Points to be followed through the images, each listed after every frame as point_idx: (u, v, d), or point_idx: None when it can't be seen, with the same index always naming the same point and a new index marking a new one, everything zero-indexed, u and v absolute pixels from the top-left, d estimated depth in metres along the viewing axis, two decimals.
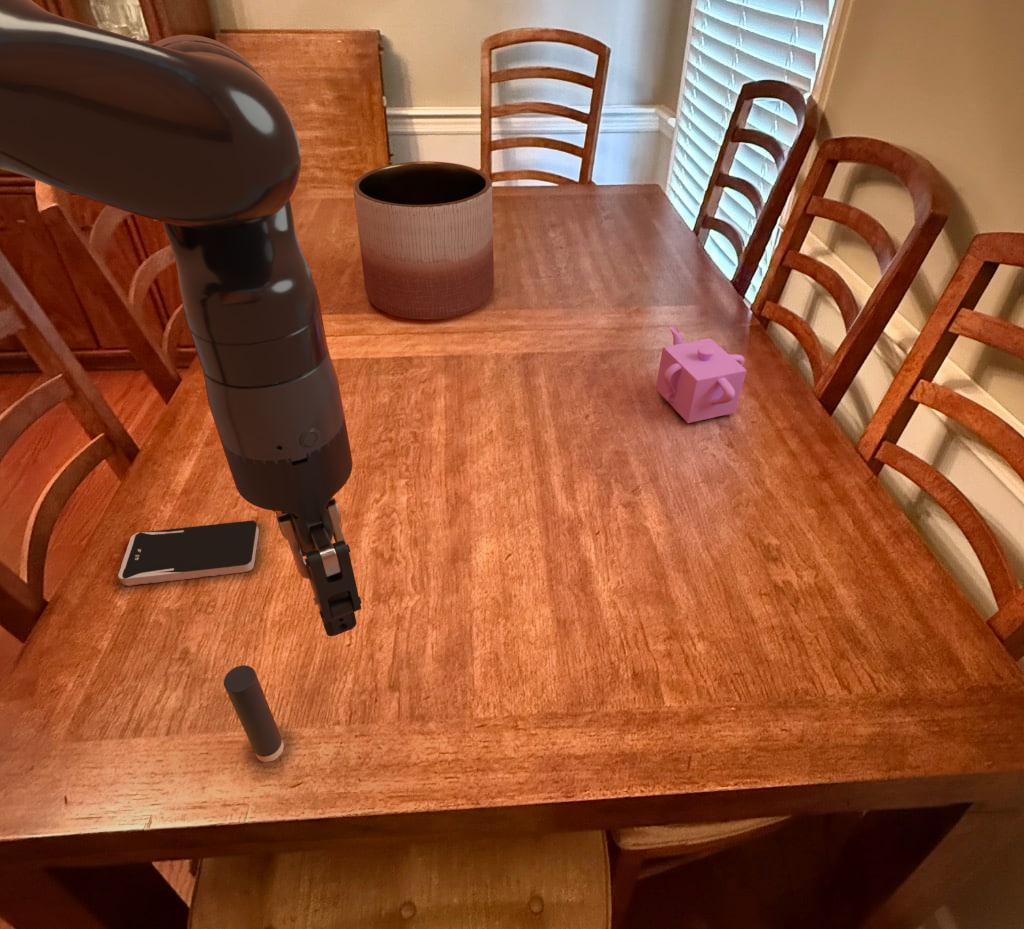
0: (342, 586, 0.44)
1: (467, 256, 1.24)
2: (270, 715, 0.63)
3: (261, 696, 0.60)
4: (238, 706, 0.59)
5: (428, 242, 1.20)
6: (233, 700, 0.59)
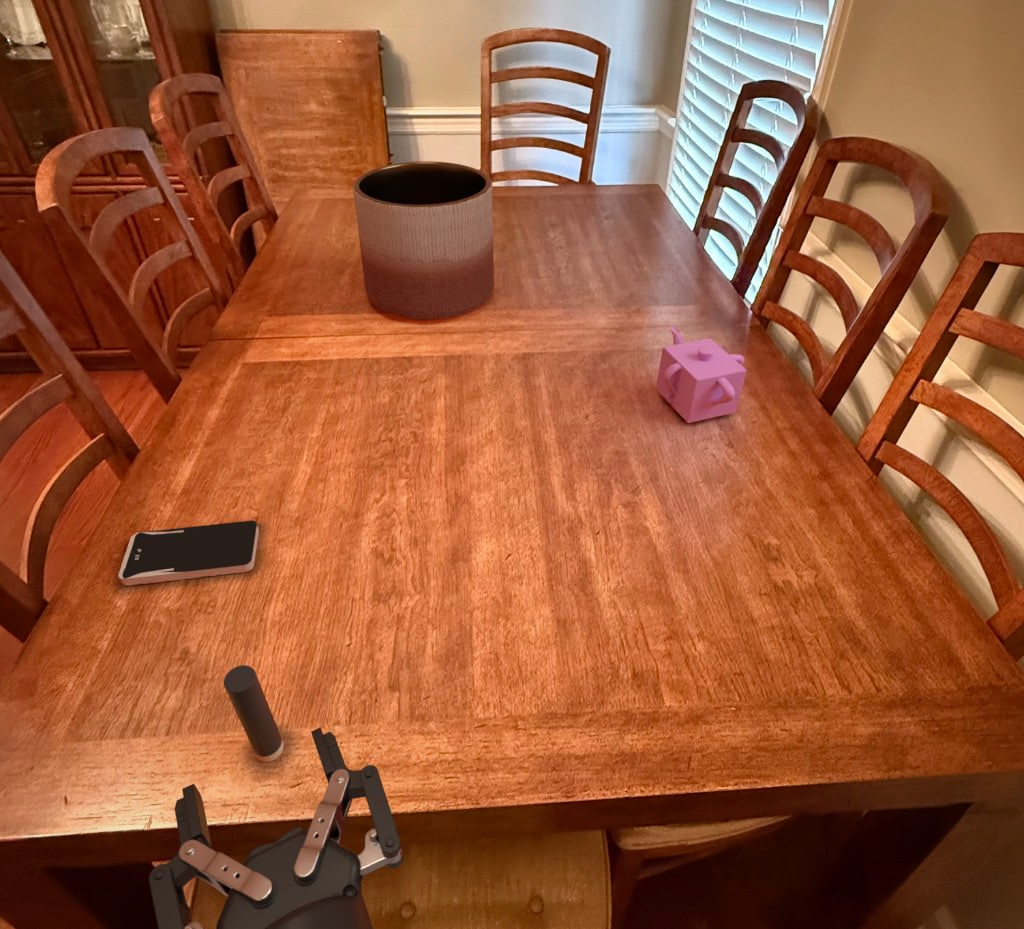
0: None
1: (467, 256, 1.24)
2: (270, 715, 0.63)
3: (261, 696, 0.60)
4: (238, 706, 0.59)
5: (428, 242, 1.20)
6: (233, 700, 0.59)
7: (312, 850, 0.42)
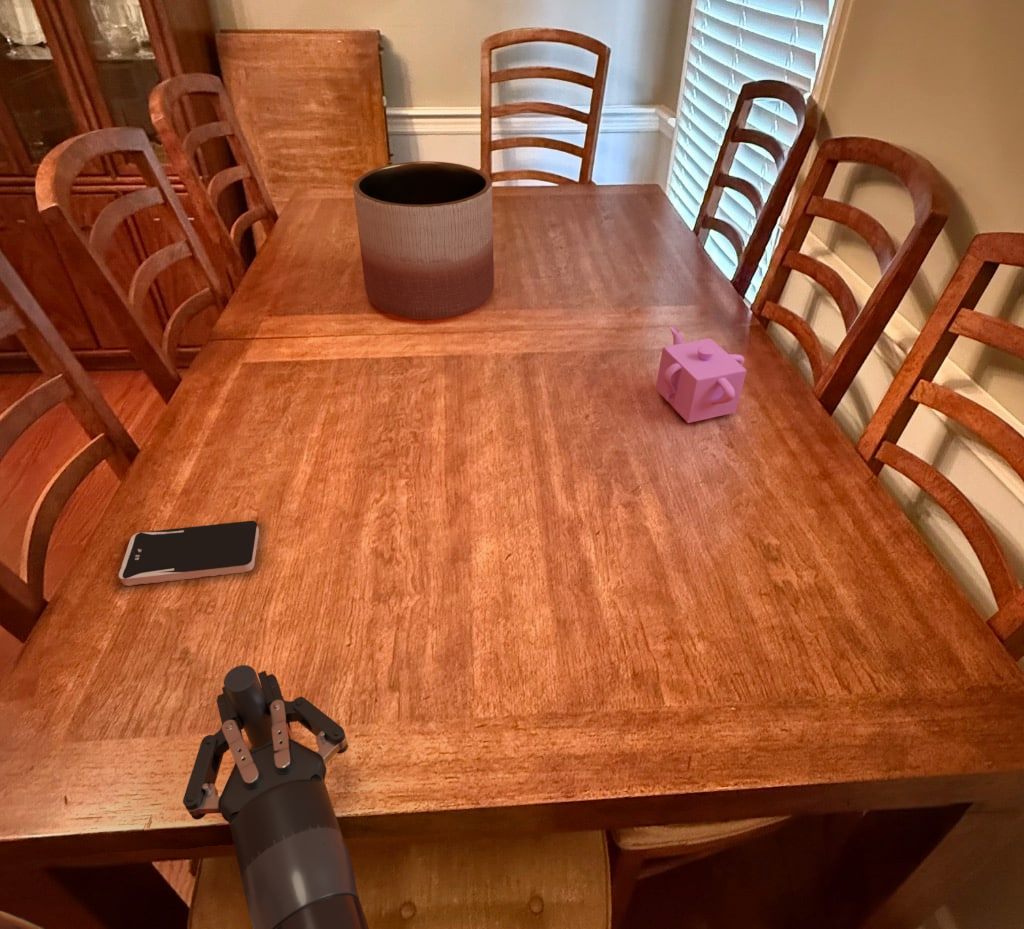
0: None
1: (467, 256, 1.24)
2: (270, 715, 0.63)
3: (261, 696, 0.60)
4: (238, 706, 0.59)
5: (428, 242, 1.20)
6: (233, 700, 0.59)
7: (288, 750, 0.57)
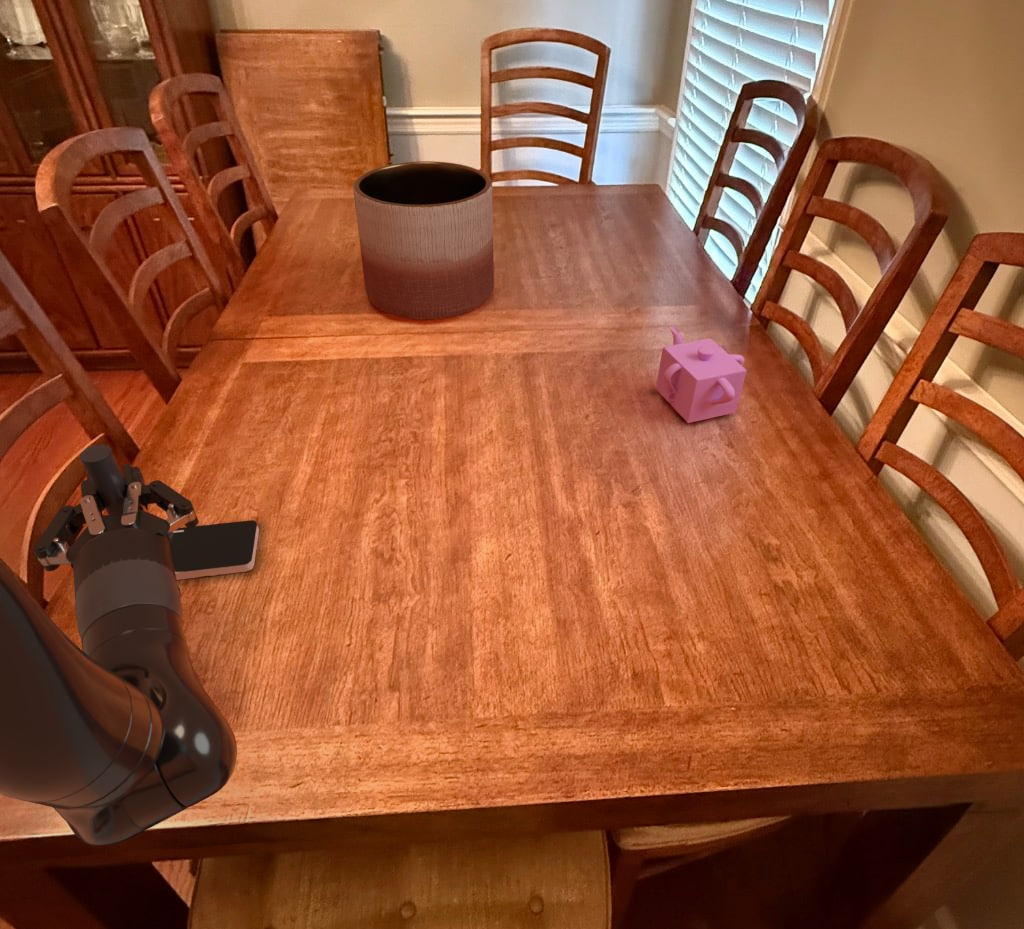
0: None
1: (467, 256, 1.24)
2: None
3: (118, 474, 0.66)
4: (95, 481, 0.65)
5: (428, 242, 1.20)
6: (89, 473, 0.64)
7: (135, 513, 0.63)
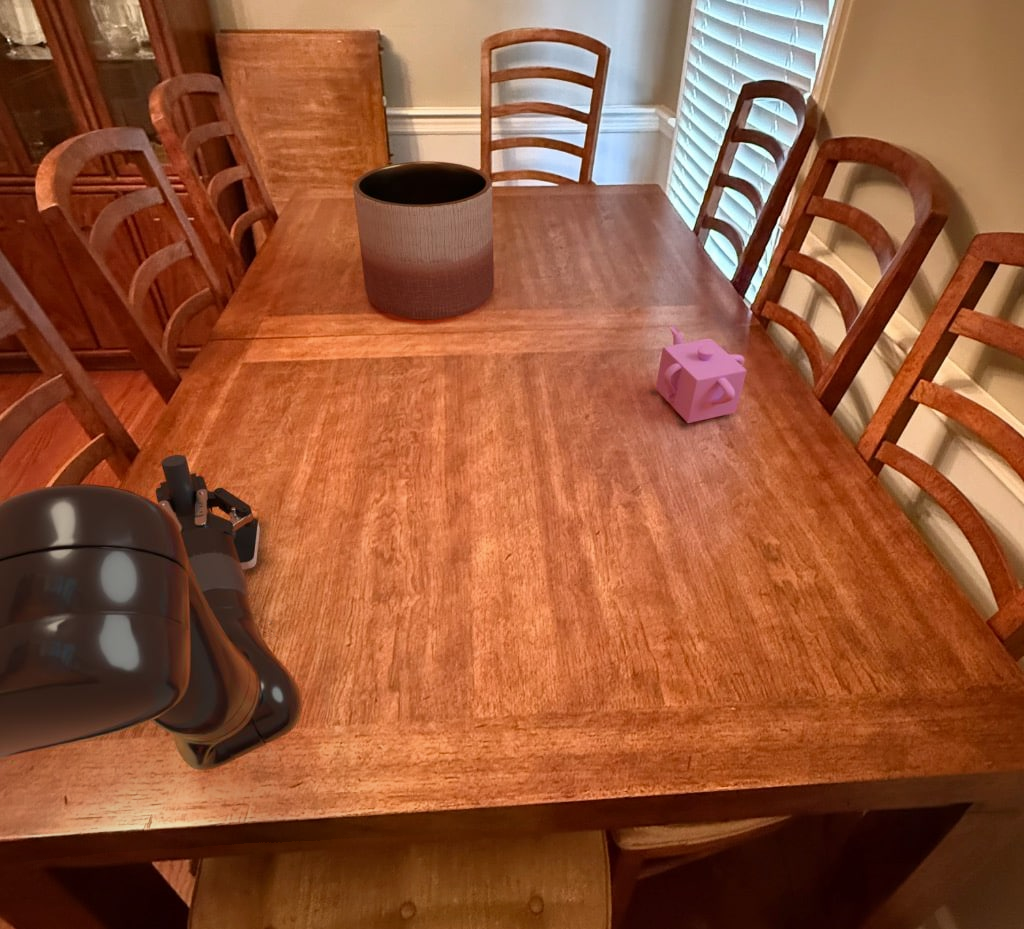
0: None
1: (467, 256, 1.24)
2: None
3: (189, 480, 0.79)
4: (170, 483, 0.78)
5: (428, 242, 1.20)
6: (167, 476, 0.78)
7: (206, 515, 0.76)
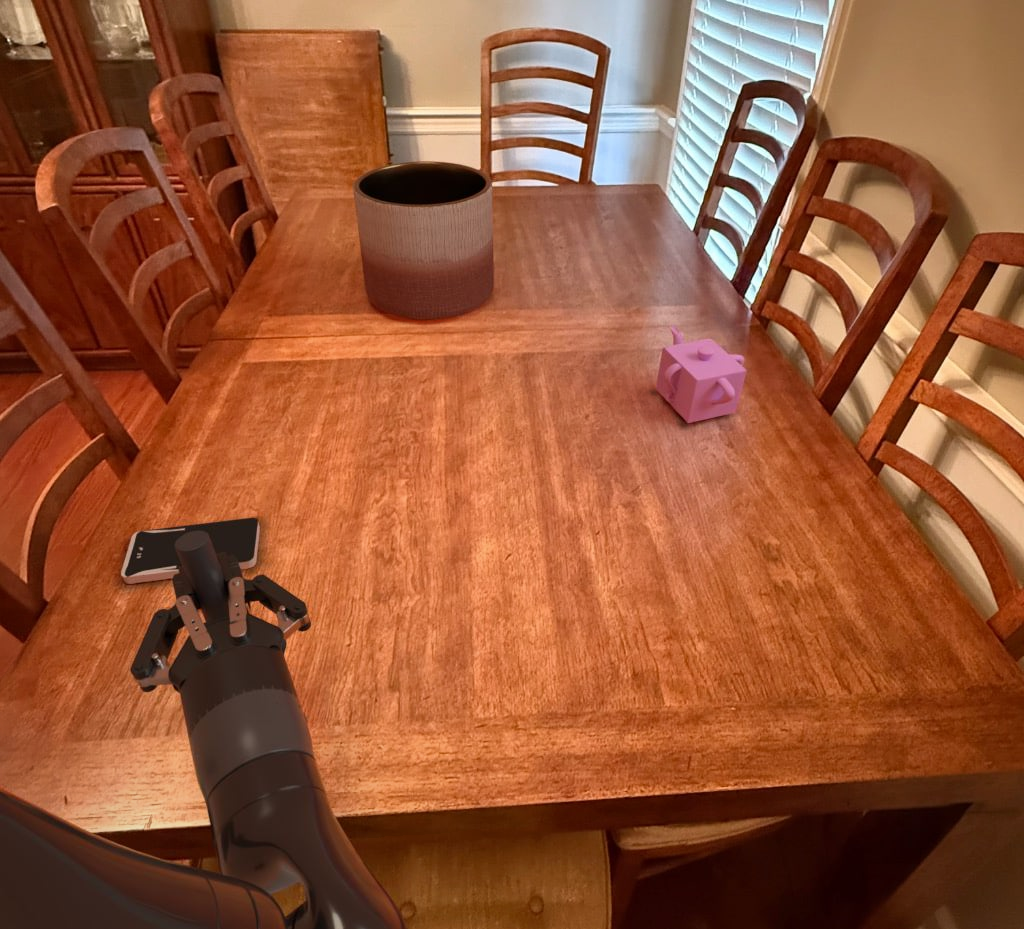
0: None
1: (467, 256, 1.24)
2: (228, 595, 0.59)
3: (215, 565, 0.57)
4: (190, 573, 0.56)
5: (428, 242, 1.20)
6: (184, 564, 0.55)
7: (245, 621, 0.54)
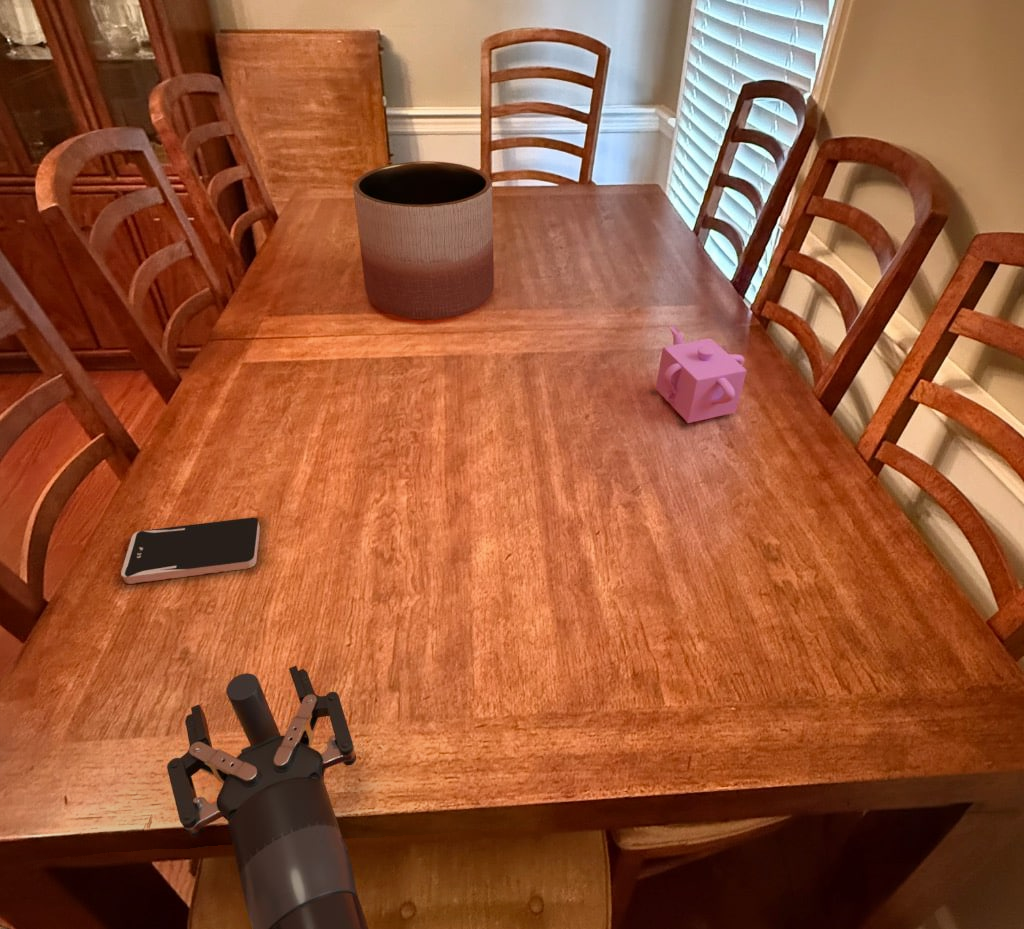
0: None
1: (467, 256, 1.24)
2: (273, 725, 0.62)
3: (263, 705, 0.59)
4: (240, 715, 0.59)
5: (428, 242, 1.20)
6: (235, 708, 0.58)
7: (287, 748, 0.57)
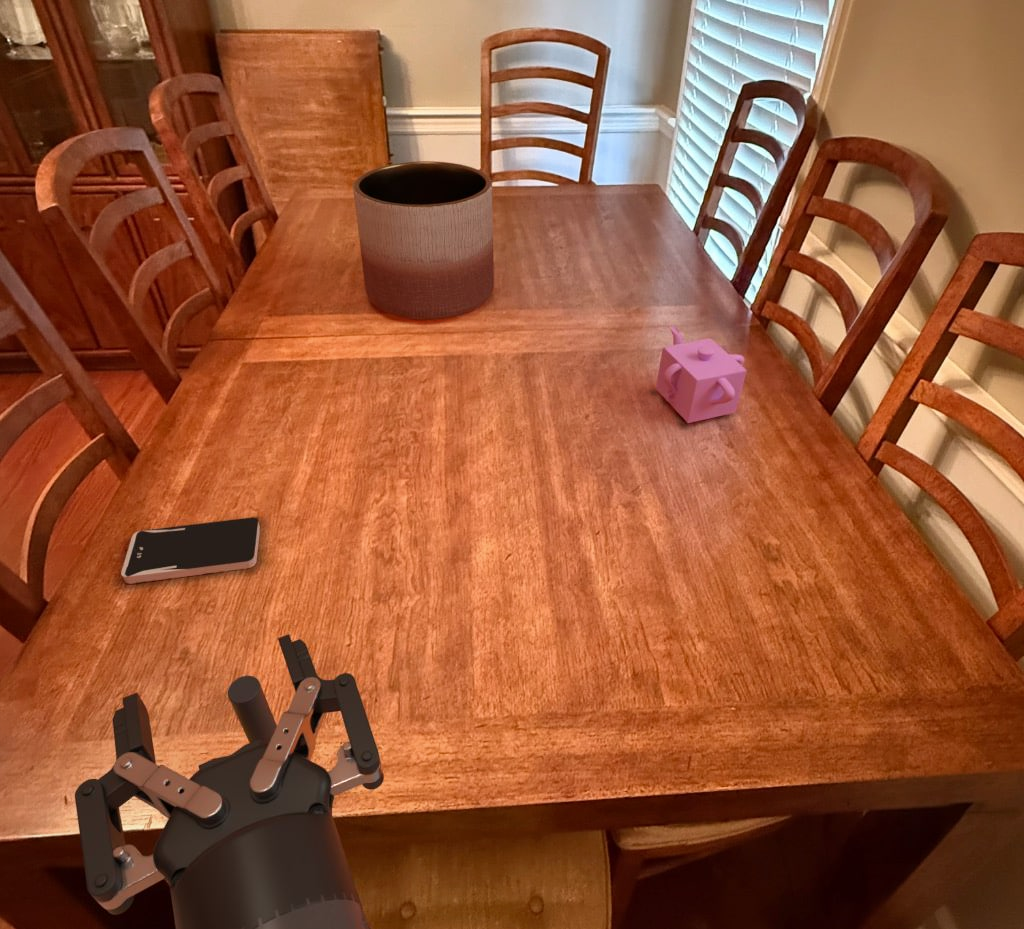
0: None
1: (467, 256, 1.24)
2: (274, 726, 0.62)
3: (265, 707, 0.59)
4: (241, 717, 0.58)
5: (428, 242, 1.20)
6: (236, 710, 0.58)
7: (273, 763, 0.35)
